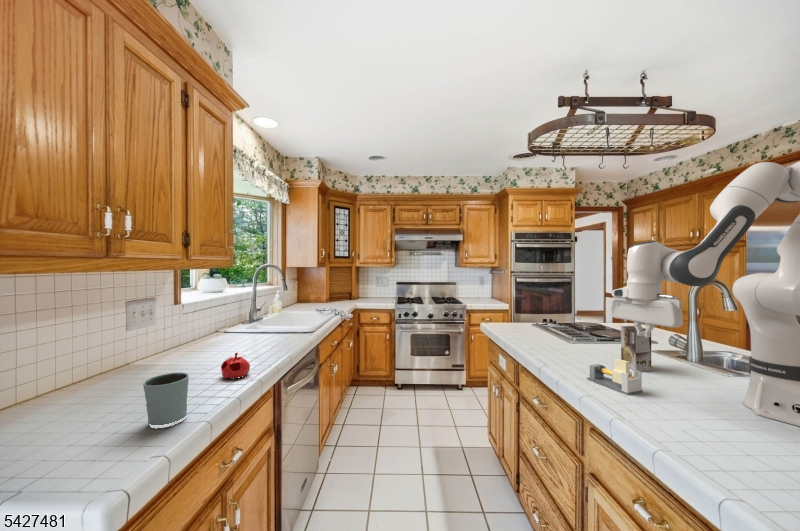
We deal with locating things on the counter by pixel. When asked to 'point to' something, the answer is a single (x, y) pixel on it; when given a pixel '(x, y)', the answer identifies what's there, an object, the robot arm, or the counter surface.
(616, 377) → the notched stepped block
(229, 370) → the pomegranate
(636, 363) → the coffee box
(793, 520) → the counter surface
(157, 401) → the grey plant pot
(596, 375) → the linear slide clamp
